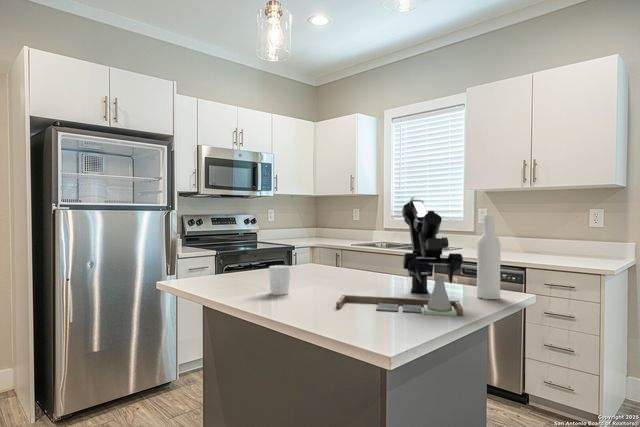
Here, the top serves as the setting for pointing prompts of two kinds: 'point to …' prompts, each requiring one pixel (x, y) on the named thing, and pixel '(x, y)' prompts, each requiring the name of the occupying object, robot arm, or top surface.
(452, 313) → the pad
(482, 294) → the bottle
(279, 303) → the top surface
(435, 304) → the flask
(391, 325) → the top surface
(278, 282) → the white cup
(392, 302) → the box
